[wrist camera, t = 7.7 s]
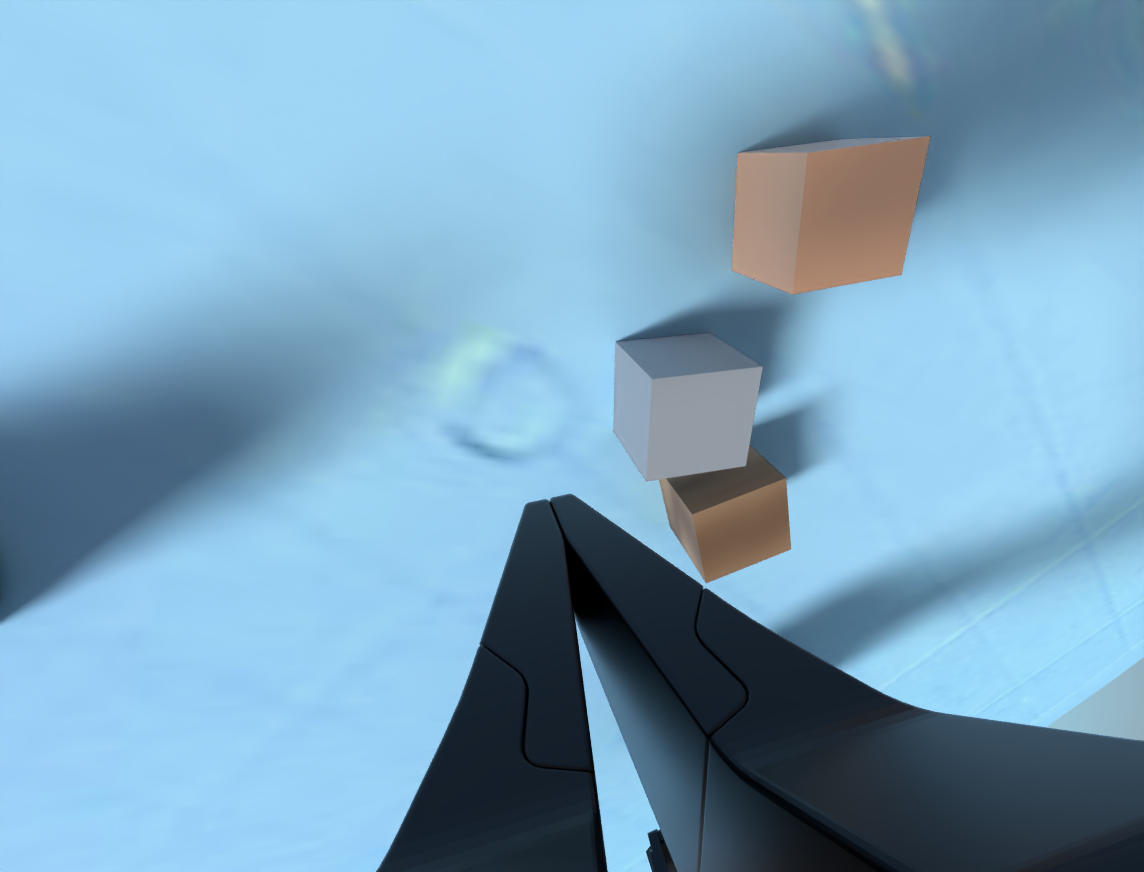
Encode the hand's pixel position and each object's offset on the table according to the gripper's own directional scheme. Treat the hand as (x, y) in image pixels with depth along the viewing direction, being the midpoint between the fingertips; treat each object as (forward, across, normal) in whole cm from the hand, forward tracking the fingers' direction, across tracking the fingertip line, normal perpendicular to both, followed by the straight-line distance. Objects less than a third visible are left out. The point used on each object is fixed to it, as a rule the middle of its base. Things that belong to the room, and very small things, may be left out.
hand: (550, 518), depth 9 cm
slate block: (+11, -7, +3) cm, 14 cm away
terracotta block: (+11, -12, -3) cm, 16 cm away
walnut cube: (+11, -9, +9) cm, 17 cm away
